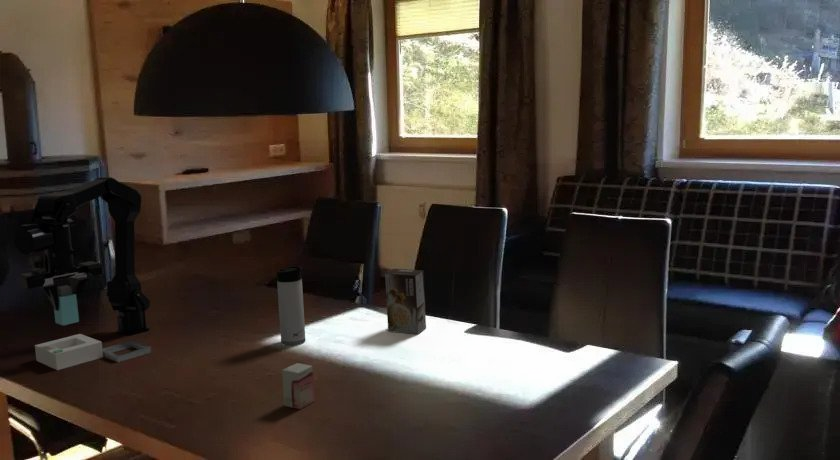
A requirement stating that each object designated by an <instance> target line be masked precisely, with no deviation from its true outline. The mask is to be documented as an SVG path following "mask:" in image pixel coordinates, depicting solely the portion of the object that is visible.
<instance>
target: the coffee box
mask: <svg viewBox="0 0 840 460" xmlns="http://www.w3.org/2000/svg"><path fill="white" fill-rule="evenodd" d="M424 271H425V270H423V269H421V270H418V269H406V268H405V269H403V268H401V269H400V268H393V269H391V270H389V271H387V272H386V273H385V274H384V275H385V280H384V281H385V296H386V297H385V298H386V314H387V315H386V317H387V332H388V333H389V332H390V333H401V334H413V335H419V334H421V333H422V332H424V330H426V329H427V320H426V315H427V314H426V297H425V295H426V293H425V292H426V291H425V272H424Z"/></svg>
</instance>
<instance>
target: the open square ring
mask: <svg viewBox="0 0 840 460" xmlns="http://www.w3.org/2000/svg"><path fill="white" fill-rule="evenodd" d="M131 348H133V349H134V350H131V351H128V352H125V353H122V354H117V353H116V352H119V351H120V352H121V351H122V350H127V349H131ZM135 348H136V349H135ZM102 349H103V357H102V358H107V359H109V360H111V361H113V362H116V363H120V362H124V361H127V360H130V359H134V358H138V357H141V356H144V355H148V354H151V353H152V347H151V346H149V345H146V344H143V343H141V342H138V341H137V340H136V341H135V340H133V339H132V340H129V341H125V342H121V343H119V344H114V345H111V346H108V347H104V348H103V347H102Z"/></svg>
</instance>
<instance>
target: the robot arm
mask: <svg viewBox="0 0 840 460" xmlns="http://www.w3.org/2000/svg"><path fill="white" fill-rule="evenodd" d="M138 191H139V190H136V189H135V188H132V187H131V186H129V185H127V184H124V183H122V182H119V181H118V180H117V179H115V178H113V177H111V176H107V177H106V176H98V177H95V178H94V179H93V180H91V181H88V182H86V183H84V184H81V185H78V186H77V187H74V188H72V189H70V190H67V191H64V192H56V193H55V192H54V193H50V194H43V195H41V196H39V197H38V199H37V203H36V205H35V207H34V209H33V211H32V213H31V216H30V219H29V221H28V224H21V225H20V226H19V228H20V230H19V231H18V232H17V233H16V235H15V238H14V245H15V247H16V249H17V251H18V252H19V253H21V254H22V255H25V256H27V255H31V254H35V253H39V252H42V251H43V257H41V256H39V255H33V256H29V259H28V260H29V267H30V269H31V272H26V273H20V274H19V276H18V278H17V282H18V283H17V284H18V286H19V287H21V288H25V289H35V288H40V289H42V290H43V291H44V293H45V294H46V296H47V297H48V300H49V301H50V303H51V305H52V306H53V310H54V309H55V310H56V311H58V310H59V301H58V289H57V287H58V284H56V283H54V280H59V279H64V278H65V279H66V278H67V279H68V281H69V286H71V290H72V293H74V294H76V298H77V303H78V302H79V299H80V296H81V293H82V291H83V289H84V287H85V285H86V283H87V281H90V278H91V277H89V276H87V275H90V276H92V277H95V276H100V275H104V273H105V272H104V266H103V264H102V263H101V262H96V261H93V260H92V261H85V262H79V263H78V265H77V266H76V265H74V256H73V255H75V254H76V253H75V249H73V248H72V247H73V246H72V237H71V229H70V227H73V226H75V225H76V224H77V223H76V221H74V220H73V219H72V218H70V217H71V216H72V215H74V214H75V213H76V212H77V210H78V208H79V207H80V206H83V205H85V204H87V203H90V202H91V201H93V200H95V199H98V198H100V199H101V200H102V201H104V202H105V203H106V204H107V208H108V213H109V215H110V217H111V218H112V220H113V222H114V275H113V277H112V279H111V280H107V282H106V288H107V291H106V297H107V298H108V299H107V300H108V302H109V304H110V305H111V308H112V310H113V311H114V312H115V311H117V315H118V316H117V317H116V320H117V321H116V322H117V327H118V328H117V329H116V331H117V332H118V333H121V334H124V335H127V336H132V335H135V334H139V333H142V332H147V331H149V330H150V327H148V326H147V320H146V319H147V318H146V311H147V310H148V309H149V308H150V305H151V304H150V303H151V300H150V299H149V298H148V297H147V296H146V295H145V294H144V293H143V292H142V286H141V285H142V284H141V282H140V280H139V278H138V277H137V275H136V274H135V273H136V272H135V221H136V220H137V218H138V216H139V215H140V213H141V207H142V196H141V193H139V192H138ZM37 270H38V271H39V272H38V271H37Z"/></svg>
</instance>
